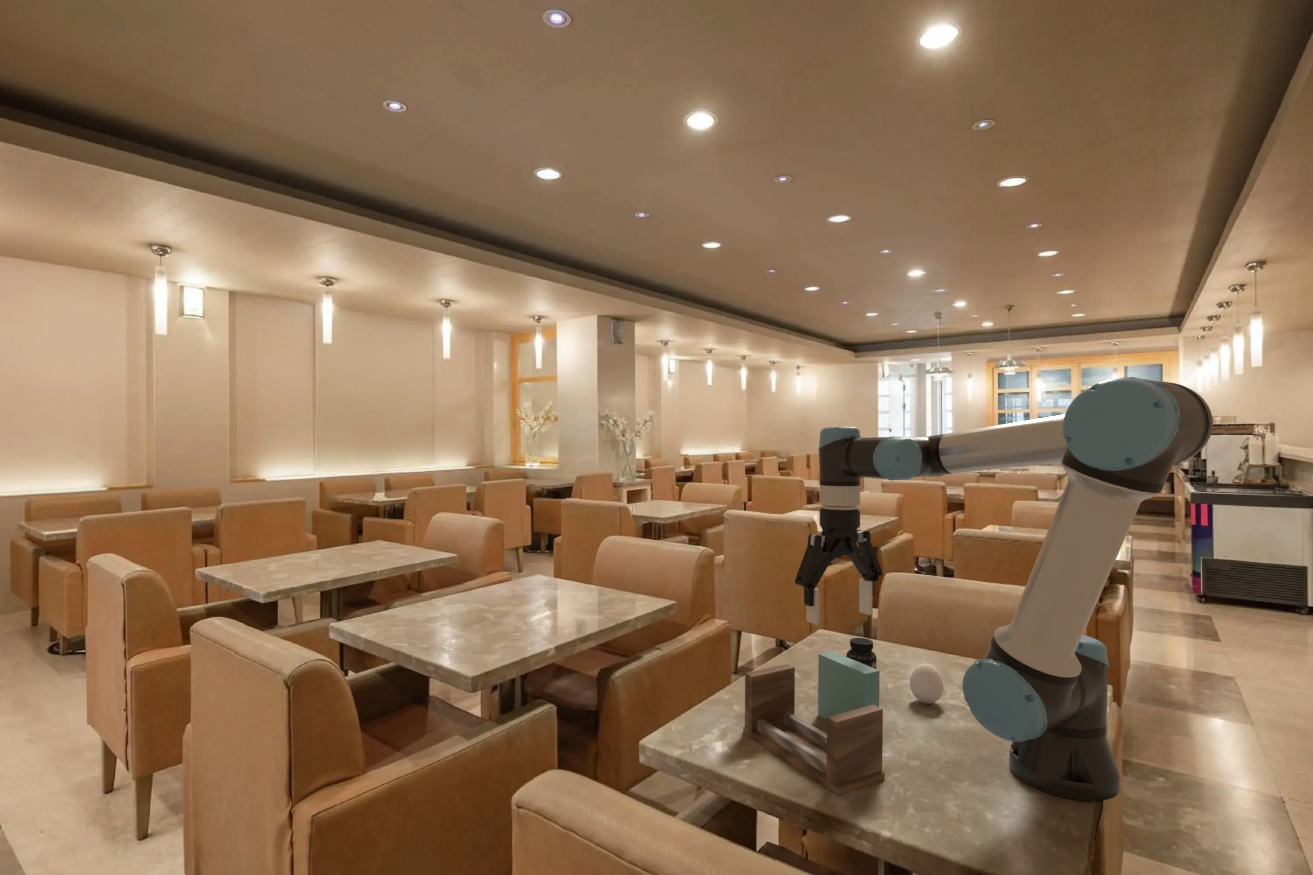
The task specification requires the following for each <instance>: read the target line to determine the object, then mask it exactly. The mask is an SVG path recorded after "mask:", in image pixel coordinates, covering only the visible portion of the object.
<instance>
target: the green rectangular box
mask: <svg viewBox="0 0 1313 875" xmlns="http://www.w3.org/2000/svg"><path fill="white" fill-rule="evenodd" d="M817 672H818V674H817V675H818V678H817V679H818V680H817V682H818V683H817V685H818V686H817V687H818V688H817V689H818V690H817V692H818V693H817V694H818V695H817V697H818V698H817V699H818V700H817V716H818V717H821V718H822V719H823V720H826V721H827V717H829V716H833V715H837V714H840V713H844V712H848V711H851V710H855V709H858V708H862V707H866V706H869V705H875V706H877V707H880V670H879V669H877V668H876V669H874V668H872V667H869V666H867V665H864V664H862V663H860V662H857V661H855V660H852V659H850V658H847V657H846V655H843V654H840V653H838V652H835V651H833V650H831V651H827V652H822V653H819V654H818V669H817Z"/></svg>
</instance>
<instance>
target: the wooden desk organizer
mask: <svg viewBox="0 0 1313 875" xmlns="http://www.w3.org/2000/svg"><path fill="white" fill-rule="evenodd" d="M795 675H796V667H795V666H793V665H791V664H788V663H787V664H783V665H777V666H773V667H768V668H763V669H759V670H758V669H757V670H755V671H750V672H745V674H744V676H745V677H744V726H742V732H743V733H744V734H745V735H747V736H748V737H750V738H751V739H753V740H754V741H756V742H757V743H758V744H760V745H762V746H763V747H765V748H766V749H768V750H769V751H771V752H772V753H774V754H775V755H776V756H778V757H780V758H781V759H783V760H784V761H785V762H787V763H788V764H790V765H792V766H793V767H795V768H797V769H798V770H799V771H801V772H802V773H804V774H805V775H806V776H808V777H810V778H811V779H813V780H814V781H816V782H817V783H818V784H820V785H822V786H823V787H825V788H826V789H828V790H829V791H831V792H832V793H834V795H836V796H841V795H843V794H846V793H850V792H852V791H855V790H857V789H860V788H864V787H866V786H868V785H872V784H876V783H877V782H880V781H883V780H885V776H886V774H885V772H884V771H883V746H884V745H883V741H884V740H883V736H884V735H883V734H884V733H883V728H884V723H883V722H884V721H883V720H884V710H883V708H881V707H880V706H879V707H877V706H875V705H869V706H866V707H862V708H858V709H855V710H851V711H848V712H844V713H840V714H837V715H833V716H829V717H827V720H826V732H825V731H822V730H821V729H819V728H817V727H816V726H814V725H812V724H810V723H809V722H807V721H805V720H804V719H802V718H799V717H798V716H797V715H795V706H796V704H795V702H796V700H795V699H796V698H795V697H796V691H795V689H796V688H795V687H796V686H795V684H796V678H795V677H796V676H795Z"/></svg>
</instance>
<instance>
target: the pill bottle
mask: <svg viewBox="0 0 1313 875" xmlns="http://www.w3.org/2000/svg"><path fill="white" fill-rule="evenodd" d="M849 646H850V649H849V650H847V652H846V655H845V657H847V658H850V659H852V660H855V661H857V662H860V663H862V664H864V665H867V666H869V667H872V668H874V669H877V655H876V653H875V652H874V651H873V649H874V642H873V640H871V639H870V638H869V639H868V638H865V637H853V638H850V640H849Z"/></svg>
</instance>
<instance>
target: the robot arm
mask: <svg viewBox="0 0 1313 875" xmlns="http://www.w3.org/2000/svg"><path fill="white" fill-rule="evenodd" d="M1213 428H1214V418H1213V415H1212V411H1211V408H1210V407H1209V404H1208V403H1207V402H1206V400H1205V399H1204V398H1203V397H1202V396H1201V395H1200V394H1199V393H1198V392H1196V391H1195V390H1193V389H1191V388H1189V387H1187V386H1185V385H1183V384H1179V383H1177V382H1176V383H1175V382H1169V381H1168V382H1167V381H1158V380H1153V379H1152V380H1151V379H1147V378H1141V377H1140V378H1138V377H1133V376H1130V377H1128V376H1127V377H1126V376H1125V377H1119V378H1113V379H1106V380H1103V381H1099V382H1097V383H1094V384H1093V385H1091V386H1088V387H1087V388H1085V389H1084V390H1082V391H1081V392H1080V393H1078V394H1077V395H1076V397H1075V398H1073V399H1072V401H1071V402H1070V404H1069V405H1068V407H1067V409H1066V411H1065V413H1064V414H1060V415H1055V416H1047V417H1042V418H1035V419H1034V418H1033V419H1029V420H1021V421H1016V422H1011V423H1005V424H1004V423H1003V424H997V425H992V426H985V427H979V428H973V429H968V430H959V431H955V432H954V431H953V432H948V433H941V434H935V435H930V436H919V437H917V436H916V437H915V436H913V437H912V436H910V437H909V436H877V437H862V436H861V433H860V432H861V431H860V429H859V428H858V427H857V426H856V427H855V426H840V427H839V426H838V427H836V426H835V427H834V426H833V427H832V426H831V427H830V426H829V427H824V428H822V429H821V430H820V432H819V446H818V458H819V459H818V461H819V505H821V507H820V509H819V527H820V528H821V531H822V532H821V535H820V534H813V533H809V535H808V537H807V546H806V548H805V552H804V554H803V557H802V560H801V563H800V566H799V567H798V571H797V573H796V576H795V579H794V584H795V585H797V586H800V587H802V588H803V603H804V605H805V606H806V607H805V608H806V609H805V610H806V613H805V614H806V617H805V618H806V622H807V623H809V624H810V623H811V624H813V625H818V626H819V625H820V589H819V588H816V587H817V586H818V584H819V582H820V581H821V579H822V577H823V576H824V574H825V572H826V571H827V569H828V567H829V566H830V564H831V562H832V561H834V560H835V559H836V558H841V557H843V556H845V557H848V558H849V560H850V561H851V563H852V564H853V566H855V568H856V570H857V572H858V573H859V574H860V576H861V577H862V578H859V579H858V580H859V581H858V584H859V585H858V586H859V587H858V588H859V589H858V590H859V592H858V594H859V595H858V597H859V598H858V599H859V600H858V602H859V606H858V608H859V609H858V610H859V613H861V614H865V615H868V616H873V597H874V596H875V582H878V581H879V580H880V577H882V576H883V570H882V567H881V565H880V562H879V560H878V557H877V554H876V551H875V549H874V546H873V543H872V539H871V531H870V530H865V529H859V528H860V527H861V510H860V509H859V508H858V507H860V506H861V486H860V485H861V478H862V479H864V478H865V479H866V478H867V479H881V480H888V481H892V482H893V481H906V480H911V479H913V478H920V477H921V478H922V477H924V478H925V477H928V478H932V477H934V478H936V477H942V476H946V475H952V474H953V475H955V474H961V473H972V472H980V471H991V470H1001V469H1009V468H1011V469H1012V468H1019V467H1020V468H1021V467H1030V466H1039V465H1041V466H1042V465H1049V464H1051V465H1052V464H1058V463H1060V464H1061V467H1062V468H1063V469H1064V471H1065V474H1066V475H1067V482H1066V484H1065V487H1064V490H1063V493H1062V494H1061V497H1060V500H1059V502H1058V504H1057V506H1056V508H1055V509H1056V510H1055V512H1054V515H1053V518H1052V520H1051V522H1050V525H1049V528H1048V529H1047V533H1046V535H1045V537H1044V540H1043V542H1042V545H1041V546H1040V549H1039V552H1038V554H1037V557H1036V560H1035V562H1034V564H1033V567H1032V570H1031V572H1030V575H1029V577H1028V580H1027V582H1026V585H1025V587H1024V589H1023V592H1022V595H1021V596H1020V600H1019V602H1018V605H1017V607H1016V609H1015V612H1014V615H1013V617H1012V619H1011V622H1010V623H1009V624H1007V625H1004V626H999V627H997V629H995V631H994V633H993V635H992V638H991V640H990V643H989V645H988V648H987V651H986V653H985V655H984V657H983V658H980V659H978V660H975V661H974V662H973V663H972V664H971V665H970V666H969V667H968V668H967V669H966V670H965V672H964V674H963V678H962V693H963V696H964V697H963V698H964V701H965V702H966V704H967V705H968V707H969V711H970V713H971V714H972V716H973V717H974V718H975V720H976V721H977V722H978V723H979V724H980V725H981V726H982V727H983V728H984V729H985V730H986V731H988V732H989V733H990V734H992V735H994V736H995V737H998V738H999V739H1002V740H1005V741H1008V742H1011V745H1010V748H1009V752H1008V753H1009V755H1008V756H1009V759H1008V761H1009V763H1008V764H1009V768H1010V770H1011V771H1012V772H1013V774H1014V775H1016V776H1017V777H1018V778H1019V779H1020V780H1021V781H1023V782H1025V783H1027V784H1028V785H1030V786H1032V787H1034V788H1036V789H1039V790H1040V791H1043V792H1046V793H1048V794H1052V795H1055V796H1059V797H1063V798H1067V799H1072V800H1077V801H1088V802H1090V801H1091V802H1099V801H1106V800H1107V801H1108V800H1110V799H1113V798H1115V797H1116V796H1118V794H1119V793H1120V778H1121V777H1120V772H1119V769H1118V766H1117V764H1116V760H1115V758H1114V755H1113V753H1112V749H1111V747H1110V744H1109V740H1108V737H1107V724H1108V722H1107V720H1108V684H1109V683H1108V681H1109V680H1108V677H1109V667H1110V664H1109V662H1108V649H1107V647H1106V645H1105V644H1104V643H1103V642H1102V641H1101V640H1099V639H1096V638H1095V637H1091V636H1089V635H1085V634H1084V633H1085V630H1086V629H1087V626H1088V624H1089V621H1090V619H1091V617H1092V614H1093V613H1094V609H1095V608H1096V605H1097V603H1098V601H1099V599H1100V598H1101V594H1102V592H1103V589H1104V587H1105V586H1106V582H1107V580H1108V578H1109V576H1110V574H1111V571H1112V570H1113V566H1114V565H1115V562H1116V560H1117V557H1118V555H1119V553H1120V551H1121V549H1122V546H1123V545H1124V542H1125V540H1126V537H1127V534H1128V532H1129V530H1130V528H1131V526H1132V523H1133V521H1134V519H1135V517H1136V514H1137V512H1138V510H1139V508H1140V505H1141V503H1142V502H1143V501H1145V500H1148V499H1150V498H1154V497H1157V496H1159V495H1161V492H1162V491H1163V489H1164V486H1165V484H1166V482H1167V479H1168V478H1169V476H1170V473H1171V471H1172V468H1173V467H1174V465H1175V464H1176V465H1177V464H1180V463H1183V462H1185V461H1188V460H1189V459H1191V458H1193V457H1194V456H1196V455H1198V454H1199V452H1200V451H1202V450H1203V449H1204V448H1205V446H1206V445H1207V444H1208V442H1209V440H1210V438H1211V437H1212V432H1213Z"/></svg>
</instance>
